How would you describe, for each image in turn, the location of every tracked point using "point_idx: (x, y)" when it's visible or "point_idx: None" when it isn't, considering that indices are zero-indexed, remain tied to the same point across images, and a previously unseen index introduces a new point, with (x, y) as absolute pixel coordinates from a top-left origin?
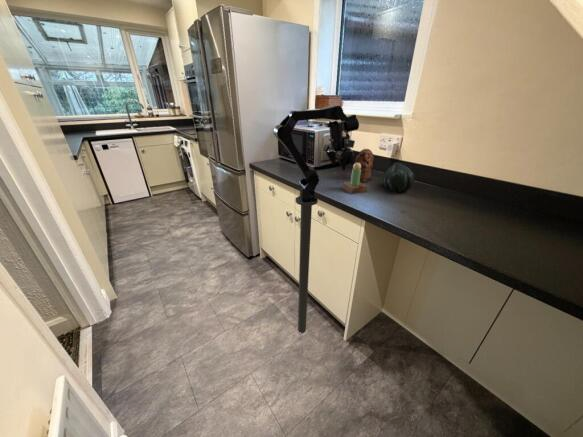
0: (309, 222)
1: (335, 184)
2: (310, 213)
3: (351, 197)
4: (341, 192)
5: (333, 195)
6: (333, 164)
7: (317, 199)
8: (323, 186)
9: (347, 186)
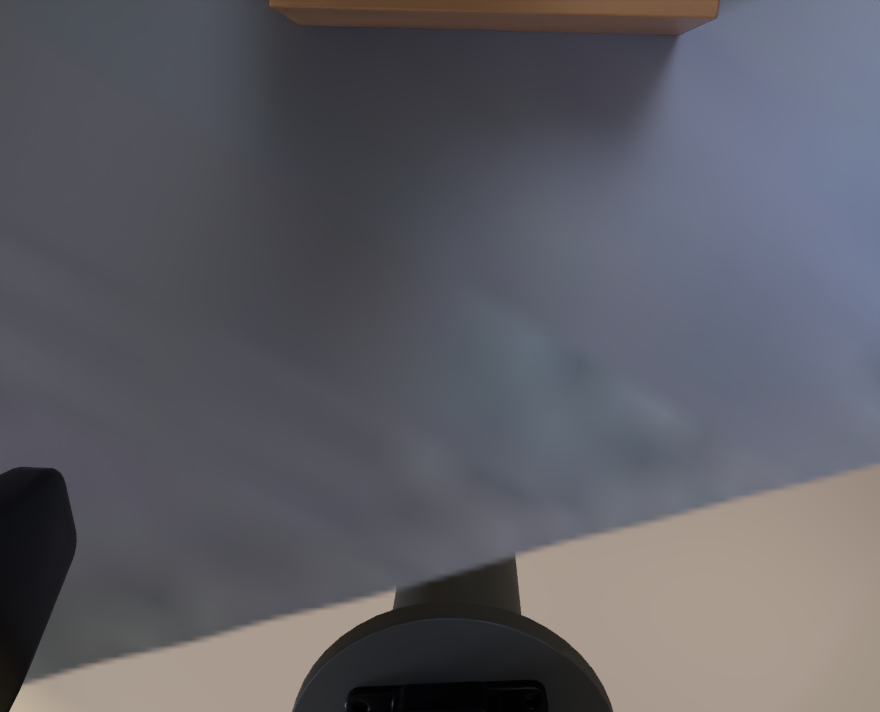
0: (514, 559)
1: (47, 52)
2: (516, 612)
3: (845, 146)
4: (531, 192)
5: (605, 420)
6: (58, 582)
7: (518, 634)
8: (105, 365)
9: (511, 16)
